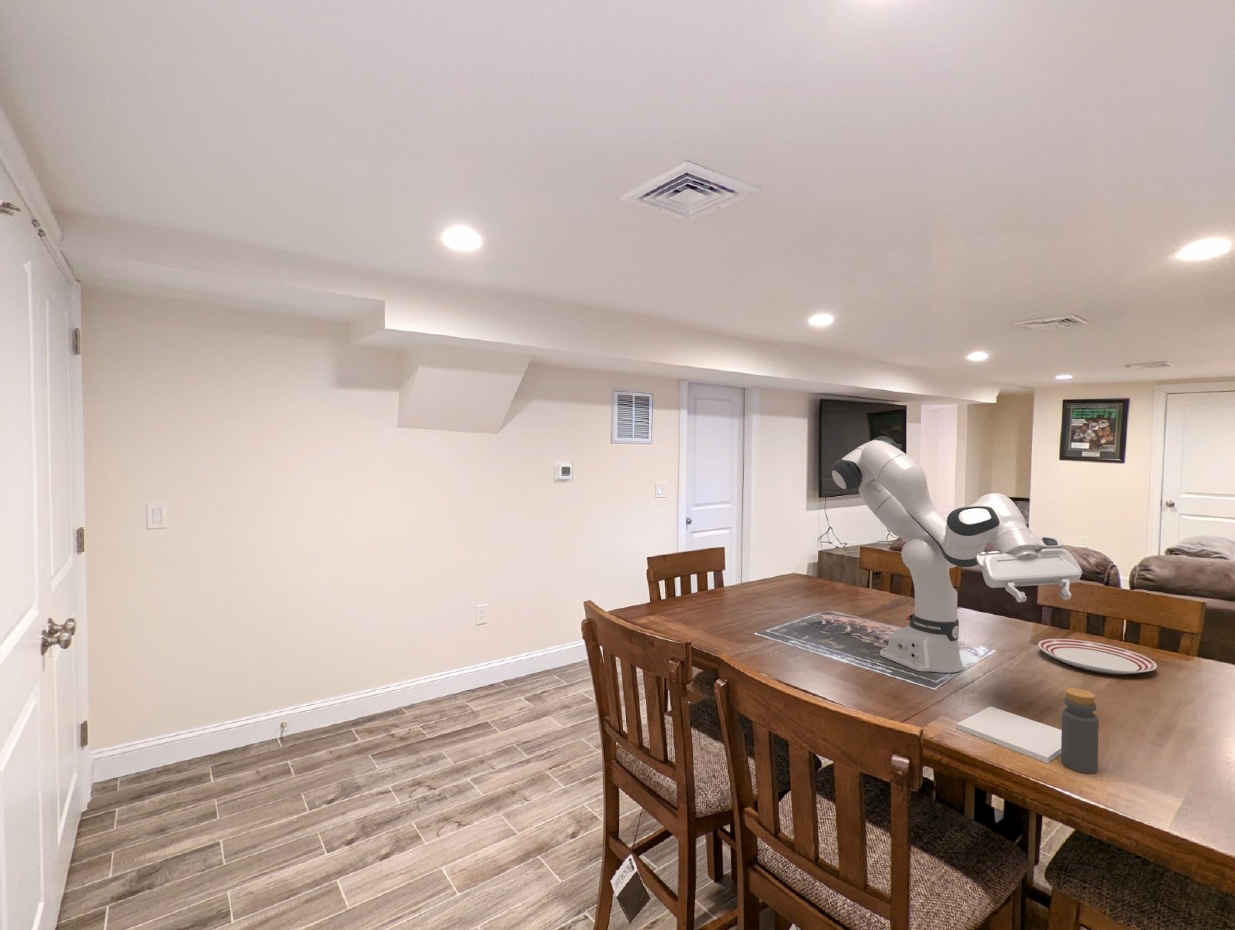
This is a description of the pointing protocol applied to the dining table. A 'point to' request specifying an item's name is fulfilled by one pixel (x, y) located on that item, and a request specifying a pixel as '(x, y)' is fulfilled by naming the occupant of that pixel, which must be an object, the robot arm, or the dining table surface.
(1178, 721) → the dining table surface
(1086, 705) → the bottle
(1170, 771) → the dining table surface
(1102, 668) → the dinner plate
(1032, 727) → the grey board
